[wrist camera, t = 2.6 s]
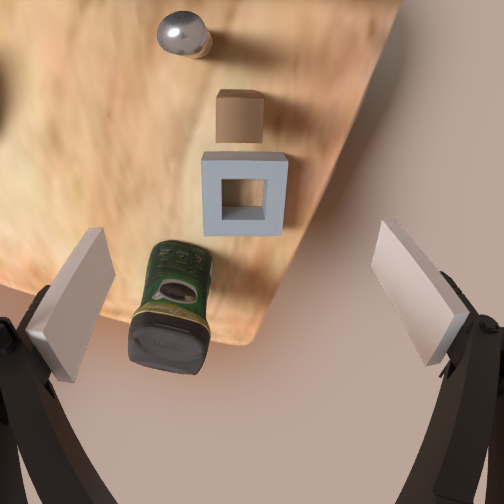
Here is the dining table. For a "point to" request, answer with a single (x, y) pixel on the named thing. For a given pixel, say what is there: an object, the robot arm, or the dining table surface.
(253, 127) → the square bit
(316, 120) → the dining table surface
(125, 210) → the dining table surface
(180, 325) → the coffee jar
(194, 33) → the round bit
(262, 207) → the bore block
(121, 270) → the dining table surface
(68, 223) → the dining table surface
